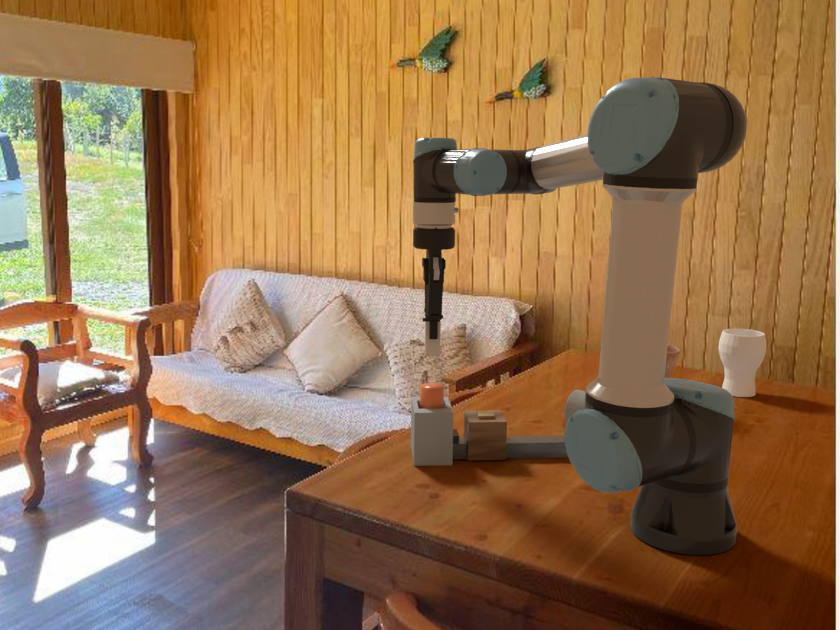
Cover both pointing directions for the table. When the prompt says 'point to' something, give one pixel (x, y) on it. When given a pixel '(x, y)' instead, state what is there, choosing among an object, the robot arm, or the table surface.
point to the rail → (520, 446)
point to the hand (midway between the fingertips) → (432, 355)
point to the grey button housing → (431, 434)
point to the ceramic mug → (574, 403)
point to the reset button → (431, 396)
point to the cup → (741, 359)
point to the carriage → (485, 435)
